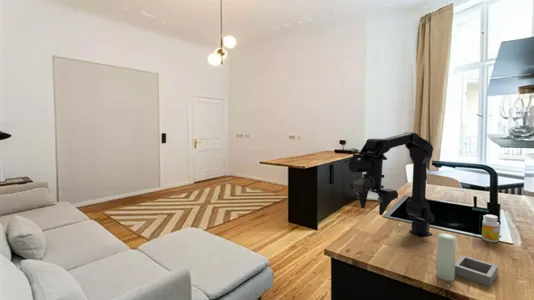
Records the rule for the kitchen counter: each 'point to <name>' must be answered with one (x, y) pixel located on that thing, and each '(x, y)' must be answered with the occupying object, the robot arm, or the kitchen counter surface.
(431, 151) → the robot arm
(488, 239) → the supplement bottle
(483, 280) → the socket collar
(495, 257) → the kitchen counter surface
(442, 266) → the sage peg
